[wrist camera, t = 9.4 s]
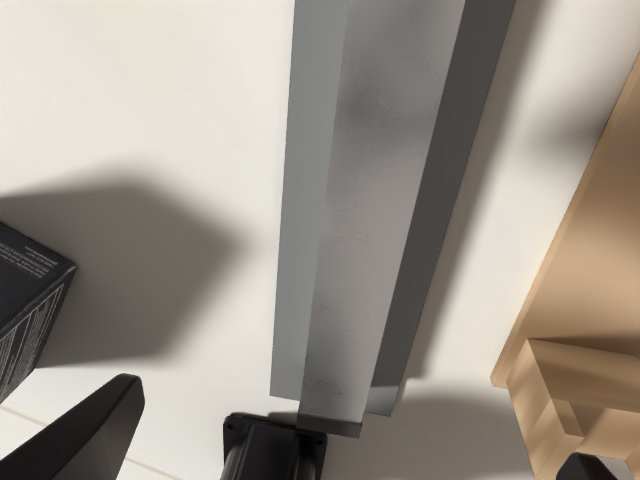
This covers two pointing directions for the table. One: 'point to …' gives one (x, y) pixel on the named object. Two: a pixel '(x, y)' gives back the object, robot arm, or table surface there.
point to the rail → (371, 194)
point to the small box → (27, 303)
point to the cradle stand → (585, 314)
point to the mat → (312, 172)
